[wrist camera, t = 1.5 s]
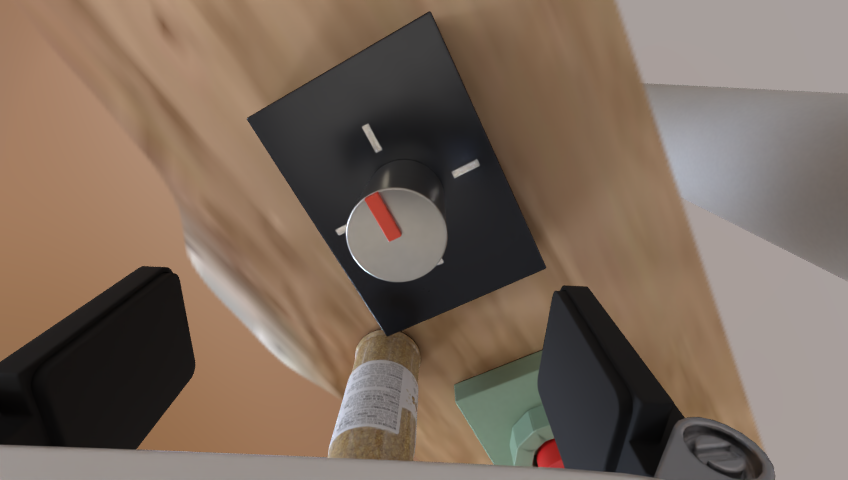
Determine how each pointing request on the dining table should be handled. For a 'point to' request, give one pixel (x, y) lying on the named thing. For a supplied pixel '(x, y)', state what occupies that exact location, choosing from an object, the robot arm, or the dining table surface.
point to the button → (549, 455)
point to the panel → (402, 140)
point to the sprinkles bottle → (379, 401)
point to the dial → (399, 223)
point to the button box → (507, 411)
